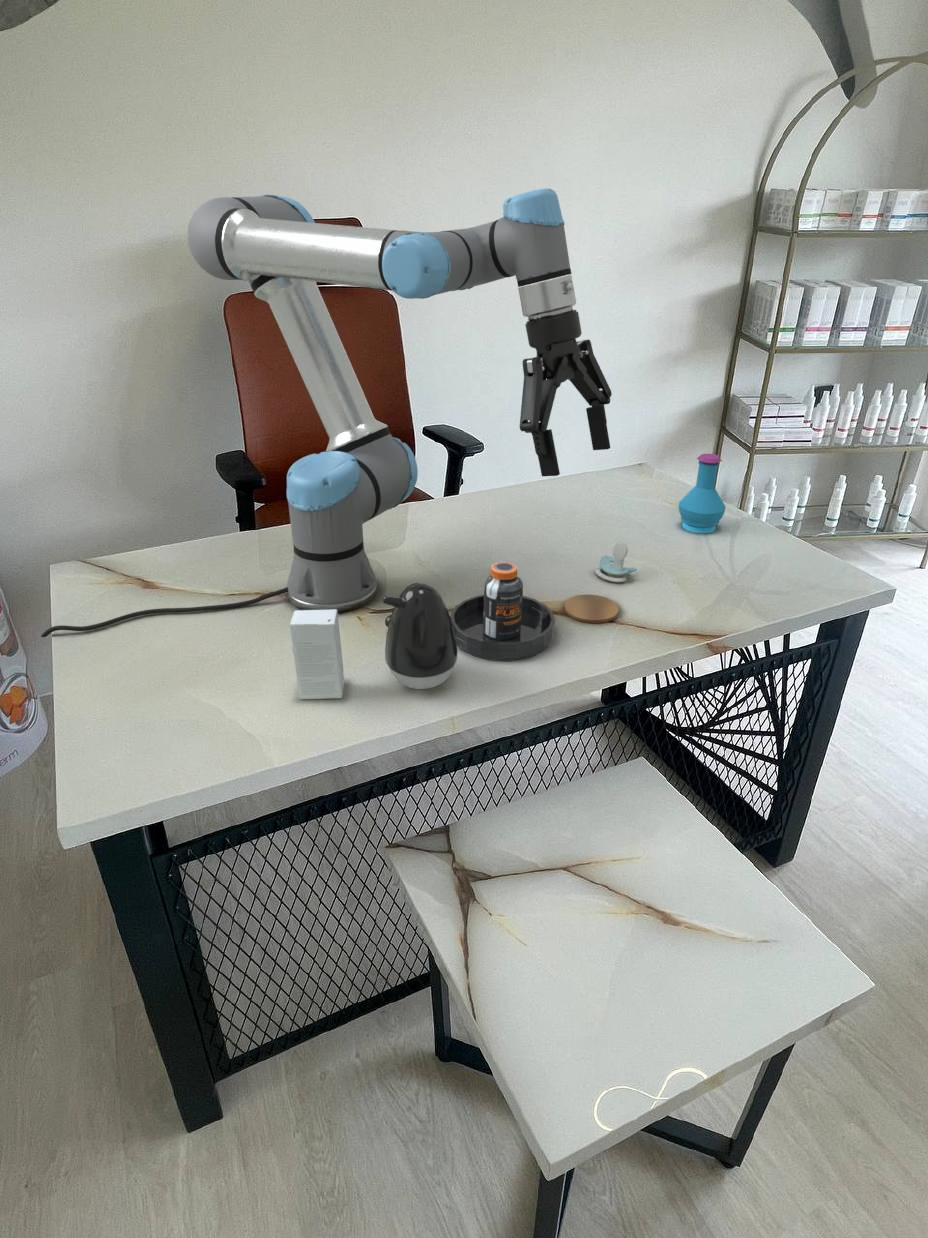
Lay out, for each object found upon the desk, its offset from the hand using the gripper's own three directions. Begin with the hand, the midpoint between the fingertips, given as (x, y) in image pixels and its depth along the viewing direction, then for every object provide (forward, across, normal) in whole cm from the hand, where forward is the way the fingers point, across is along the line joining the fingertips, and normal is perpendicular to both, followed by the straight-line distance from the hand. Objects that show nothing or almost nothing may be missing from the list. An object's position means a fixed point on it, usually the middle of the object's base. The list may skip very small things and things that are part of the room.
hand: (577, 462), depth 120 cm
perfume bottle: (+28, +47, +8) cm, 55 cm away
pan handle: (+19, -22, +20) cm, 35 cm away
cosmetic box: (+20, -42, +19) cm, 51 cm away
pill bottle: (+23, -13, +10) cm, 29 cm away
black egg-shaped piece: (+22, -31, +11) cm, 40 cm away
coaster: (+26, +3, +4) cm, 26 cm away
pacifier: (+26, +16, +8) cm, 31 cm away
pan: (+23, -13, +10) cm, 29 cm away
